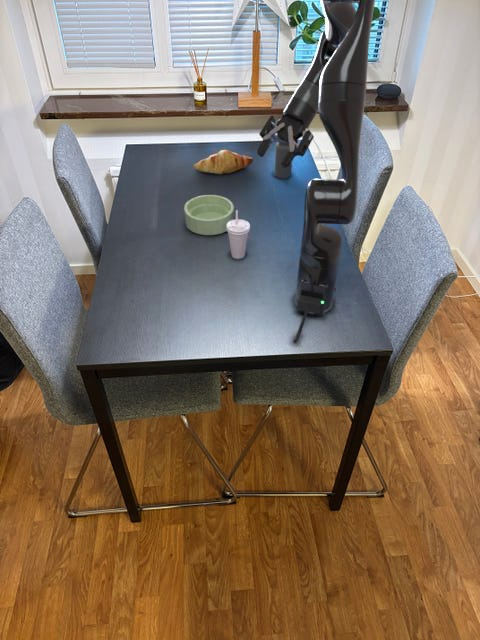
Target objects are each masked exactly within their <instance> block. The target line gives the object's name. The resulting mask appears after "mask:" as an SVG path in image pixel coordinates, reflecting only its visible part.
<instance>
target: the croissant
mask: <svg viewBox="0 0 480 640" xmlns="http://www.w3.org/2000/svg"><path fill="white" fill-rule="evenodd" d="M253 162H254V158H253V157H252V156H247V155H243V154H242V155H240V154H239V153H238V152H232V151H231V150H229V149H221V150H219V151H218V152H217V153H214V154H211V155H209V157H207V158H204V159H201V160H199V162H197V163H194V164H193V169H194V170H196V171H198V172H202V173H207V174H215V175H223V174H231V173H234V172H236V171H240V170H243V169H245V168H247V167H248V166H249V165H251V164H253Z"/></svg>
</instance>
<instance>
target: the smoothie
mask: <svg viewBox="0 0 480 640" xmlns="http://www.w3.org/2000/svg"><path fill="white" fill-rule="evenodd" d="M226 229H227V231H226V232H227V235H228V241H229V248H230V253H231V258H234V259H236V260H240V259H243V258H244V257H245V256H246V250H247V244H248V238H249V232H250V231H251V224H250V222H248V221H247V220H245V219H242V218H241V219H240V218H239V210H238V209H236V210H235V218H234V220H231V221H229V222H228V223H227V228H226Z"/></svg>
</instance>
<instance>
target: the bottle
mask: <svg viewBox="0 0 480 640" xmlns="http://www.w3.org/2000/svg"><path fill="white" fill-rule="evenodd" d="M287 152H290V145H289V143H287V142H286V141H282V140H281V139H280V140H278V141H277V142H276V144H275V152H274V169H273V171H274V172H273V175H274V176H275V177H276V178H278V179H288V178H291V175H292V167H293V161H292V162H291V164H290V166H289V167H287V168H283V167H282V166H281V162H282V161H283V159H284V157H285V156H286V154H287Z"/></svg>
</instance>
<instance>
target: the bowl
mask: <svg viewBox="0 0 480 640" xmlns="http://www.w3.org/2000/svg"><path fill="white" fill-rule="evenodd" d="M183 207H184V208H183V213H184V214H183V215H184V224H185V226H186V228H187V229H188V230H189V231H191V232H193V233H194V234H197V235H203V236H216V235H221V234H223V233H225V232H228V231H227V229H226V228H227V223H228V222H229V221H231V220H235V217H234V216H235V214H234V213H235V209H234V208H235V207H234V204H233V202H232V201H231V200H230V199H228V198H227V197H225V196H221V195H216V194H202V195H198V196H195V197H192V198H191V199H189V200H187V201H186V203H185V204H184V206H183Z"/></svg>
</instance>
